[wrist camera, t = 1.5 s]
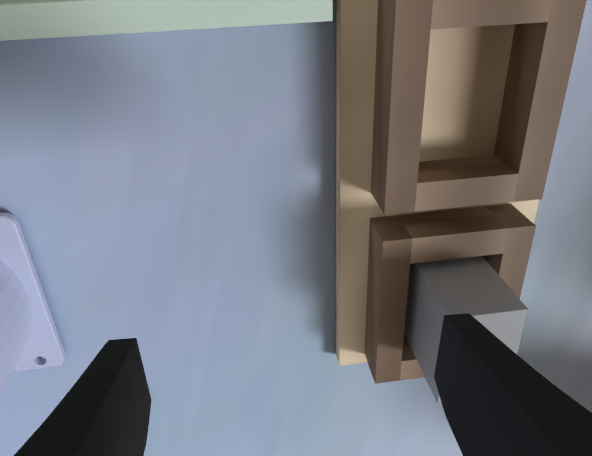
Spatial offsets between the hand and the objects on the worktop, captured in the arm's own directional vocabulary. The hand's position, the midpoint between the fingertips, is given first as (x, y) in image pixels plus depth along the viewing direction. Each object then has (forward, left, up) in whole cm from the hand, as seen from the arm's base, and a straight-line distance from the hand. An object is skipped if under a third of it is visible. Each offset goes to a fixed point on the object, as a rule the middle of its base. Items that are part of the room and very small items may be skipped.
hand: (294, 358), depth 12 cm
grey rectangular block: (+8, -6, -10) cm, 14 cm away
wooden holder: (+8, -1, -10) cm, 13 cm away
